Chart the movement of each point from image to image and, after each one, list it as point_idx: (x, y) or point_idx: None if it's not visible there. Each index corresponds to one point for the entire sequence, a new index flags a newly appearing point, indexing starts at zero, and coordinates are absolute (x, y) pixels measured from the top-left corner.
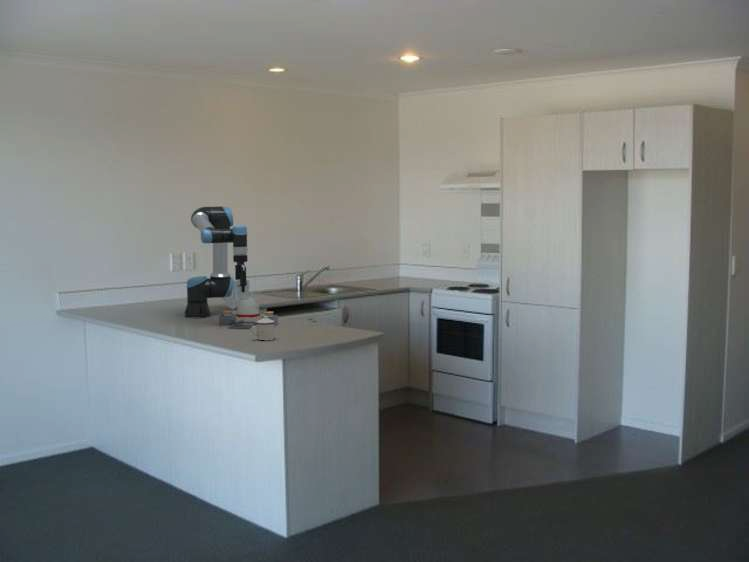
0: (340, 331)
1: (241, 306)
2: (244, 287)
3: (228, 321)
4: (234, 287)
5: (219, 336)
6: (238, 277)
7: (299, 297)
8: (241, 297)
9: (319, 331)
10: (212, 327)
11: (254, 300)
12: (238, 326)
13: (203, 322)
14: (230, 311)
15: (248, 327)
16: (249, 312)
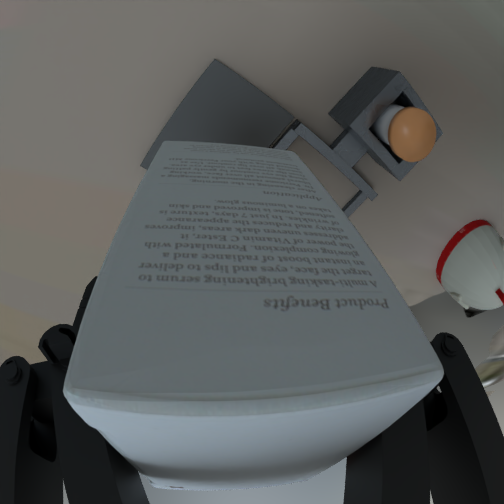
0: None
1: (488, 255)
2: None
3: (347, 105)
4: (129, 226)
5: (9, 8)
6: (371, 484)
7: (496, 357)
8: None
9: None
10: (311, 2)
11: (478, 308)
12: (226, 122)
13: (465, 54)
14: (393, 143)
15: None
16: (453, 262)
